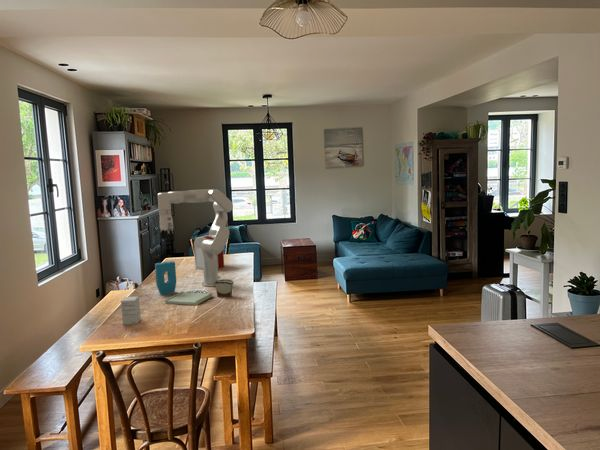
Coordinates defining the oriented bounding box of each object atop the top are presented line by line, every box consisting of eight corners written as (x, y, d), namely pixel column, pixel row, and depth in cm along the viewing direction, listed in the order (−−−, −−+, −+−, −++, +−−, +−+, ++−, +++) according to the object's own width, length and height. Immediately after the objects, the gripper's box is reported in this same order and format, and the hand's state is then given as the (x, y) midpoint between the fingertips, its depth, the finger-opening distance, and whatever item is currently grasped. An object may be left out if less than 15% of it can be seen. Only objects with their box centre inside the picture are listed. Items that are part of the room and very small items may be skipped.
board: (182, 294, 280) (182, 291, 280) (212, 296, 274) (212, 292, 274) (165, 303, 262) (165, 299, 262) (196, 305, 256) (196, 301, 256)
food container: (237, 295, 274) (236, 279, 273) (233, 297, 269) (232, 281, 267) (220, 294, 278) (219, 278, 277) (215, 296, 273) (214, 280, 271)
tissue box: (224, 266, 365) (223, 234, 362) (209, 270, 350) (207, 237, 347) (210, 265, 373) (208, 233, 370) (194, 269, 359) (192, 236, 356)
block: (158, 295, 280) (156, 264, 278) (156, 294, 284) (154, 263, 282) (177, 292, 286) (175, 262, 284) (175, 290, 291) (173, 261, 288)
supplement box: (126, 320, 233) (124, 296, 232) (141, 319, 234) (139, 296, 232) (122, 324, 226) (120, 300, 224) (137, 323, 226) (135, 299, 225)
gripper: (177, 212, 274) (179, 239, 276) (164, 211, 286) (166, 237, 288) (165, 213, 269) (168, 241, 271) (153, 212, 281) (155, 238, 283)
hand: (167, 239), depth 280 cm, fingers open, 9 cm apart
